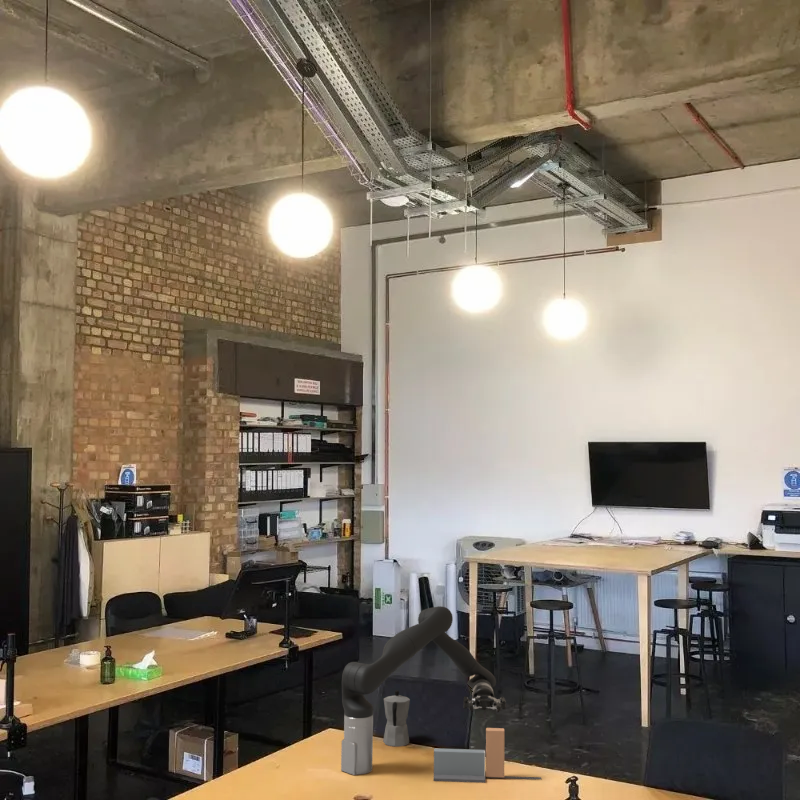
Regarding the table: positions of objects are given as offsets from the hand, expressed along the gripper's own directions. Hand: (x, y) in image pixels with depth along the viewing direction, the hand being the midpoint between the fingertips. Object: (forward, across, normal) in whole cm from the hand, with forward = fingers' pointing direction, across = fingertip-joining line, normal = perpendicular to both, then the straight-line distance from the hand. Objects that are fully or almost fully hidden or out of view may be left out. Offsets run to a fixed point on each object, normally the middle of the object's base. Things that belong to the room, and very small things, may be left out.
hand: (485, 709), depth 283 cm
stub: (+13, +2, +17) cm, 22 cm away
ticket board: (+13, 0, +17) cm, 22 cm away
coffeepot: (-18, -31, +18) cm, 39 cm away
